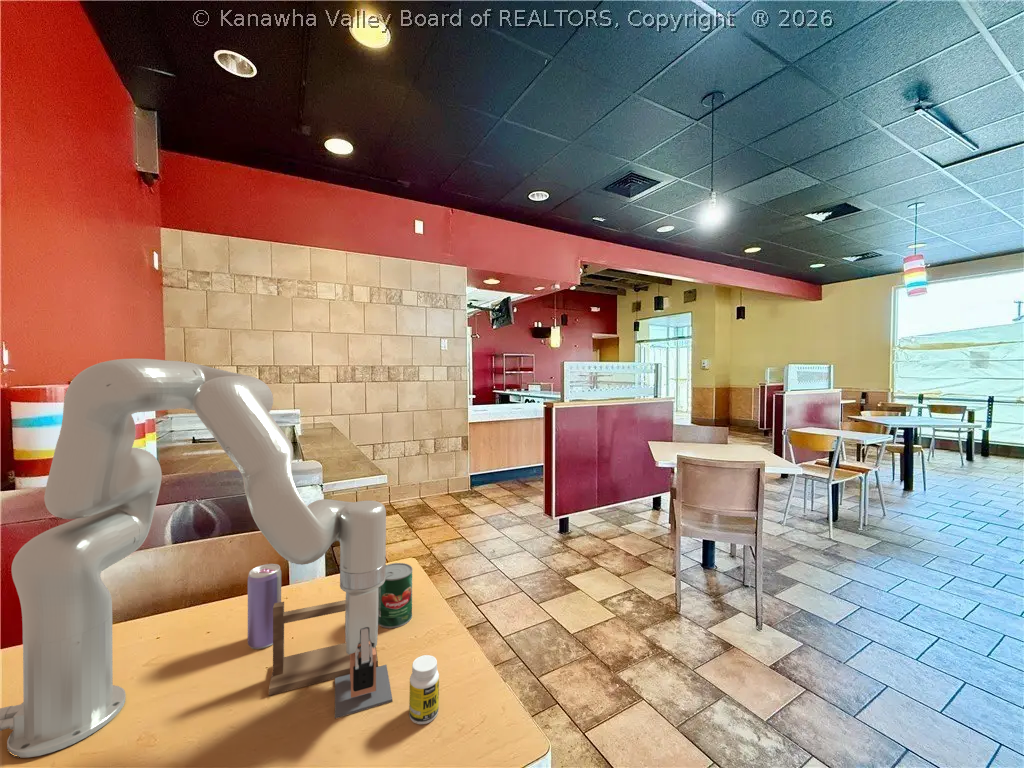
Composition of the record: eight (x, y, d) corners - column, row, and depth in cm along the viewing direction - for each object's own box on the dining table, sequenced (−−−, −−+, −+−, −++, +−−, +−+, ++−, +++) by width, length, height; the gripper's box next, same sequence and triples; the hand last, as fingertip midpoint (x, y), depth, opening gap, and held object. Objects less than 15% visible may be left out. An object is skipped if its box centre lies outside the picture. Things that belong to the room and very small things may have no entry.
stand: (268, 695, 70) (269, 617, 70) (275, 665, 77) (275, 594, 77) (377, 666, 77) (378, 596, 77) (374, 641, 84) (374, 577, 84)
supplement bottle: (424, 730, 63) (424, 677, 63) (403, 717, 66) (403, 666, 66) (444, 709, 67) (445, 659, 67) (424, 697, 70) (424, 649, 70)
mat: (334, 718, 65) (334, 716, 65) (335, 680, 73) (335, 678, 73) (392, 701, 69) (392, 699, 69) (386, 666, 77) (386, 664, 77)
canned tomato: (397, 604, 98) (397, 559, 98) (419, 615, 94) (419, 568, 93) (369, 620, 92) (369, 572, 92) (391, 633, 87) (391, 582, 87)
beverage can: (265, 652, 81) (265, 578, 80) (240, 648, 82) (240, 574, 82) (287, 634, 86) (287, 564, 86) (263, 630, 88) (264, 561, 87)
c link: (350, 697, 68) (351, 660, 68) (349, 676, 73) (350, 641, 73) (375, 690, 70) (376, 654, 69) (373, 670, 74) (373, 636, 74)
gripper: (339, 557, 77) (338, 651, 77) (340, 603, 61) (339, 721, 62) (380, 551, 80) (379, 641, 80) (391, 593, 64) (390, 705, 65)
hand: (362, 675), depth 71 cm, fingers closed on c link, 5 cm apart
